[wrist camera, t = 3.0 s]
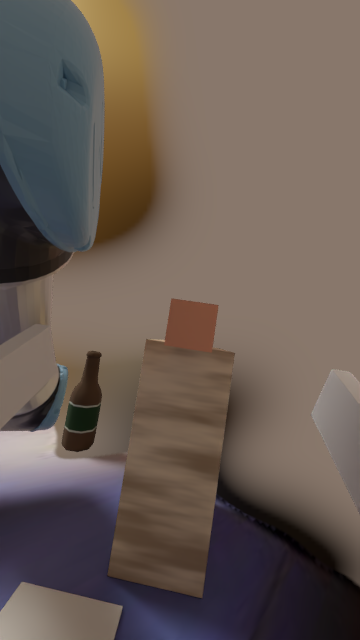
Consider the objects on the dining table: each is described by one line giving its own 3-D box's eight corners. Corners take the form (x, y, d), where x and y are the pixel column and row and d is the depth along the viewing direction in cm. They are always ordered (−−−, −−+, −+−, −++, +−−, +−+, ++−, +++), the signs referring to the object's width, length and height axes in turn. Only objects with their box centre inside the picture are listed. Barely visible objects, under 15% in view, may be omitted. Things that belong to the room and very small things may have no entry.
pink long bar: (182, 342, 49) (185, 324, 50) (200, 345, 49) (203, 327, 49) (164, 345, 19) (171, 298, 20) (211, 352, 19) (218, 305, 19)
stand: (140, 486, 47) (163, 339, 49) (198, 498, 46) (219, 348, 49) (107, 576, 29) (146, 339, 32) (202, 598, 28) (234, 352, 31)
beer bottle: (99, 444, 62) (115, 354, 64) (77, 455, 55) (96, 354, 56) (78, 435, 65) (93, 349, 67) (53, 445, 57) (72, 349, 59)
